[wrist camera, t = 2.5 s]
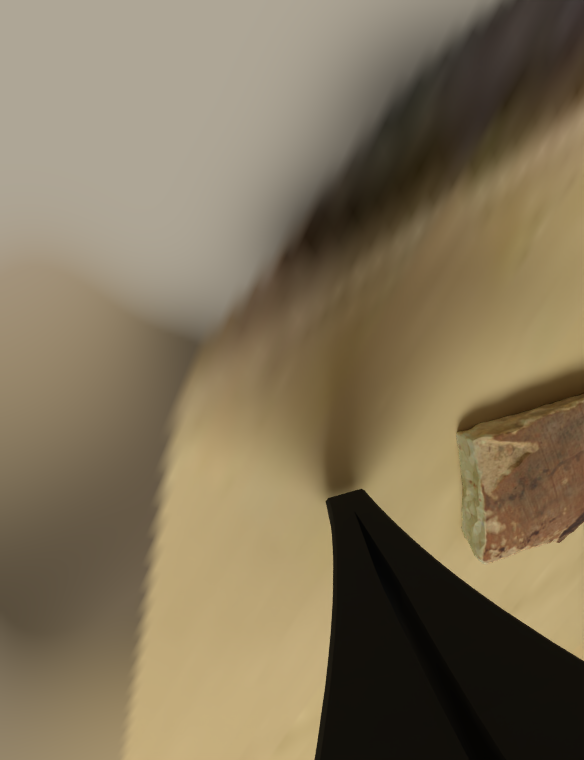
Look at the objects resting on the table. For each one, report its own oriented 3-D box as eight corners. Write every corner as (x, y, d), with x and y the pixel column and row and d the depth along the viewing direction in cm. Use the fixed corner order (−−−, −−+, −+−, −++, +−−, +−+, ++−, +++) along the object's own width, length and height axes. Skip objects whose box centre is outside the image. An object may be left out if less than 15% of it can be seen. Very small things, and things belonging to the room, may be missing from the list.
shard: (693, 336, 11) (768, 346, 10) (651, 478, 14) (705, 505, 13) (445, 416, 11) (481, 442, 9) (454, 546, 14) (482, 583, 12)
